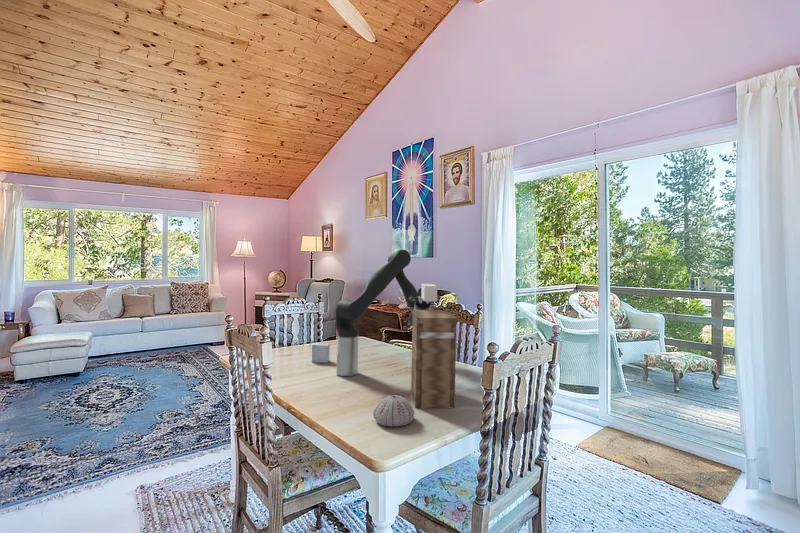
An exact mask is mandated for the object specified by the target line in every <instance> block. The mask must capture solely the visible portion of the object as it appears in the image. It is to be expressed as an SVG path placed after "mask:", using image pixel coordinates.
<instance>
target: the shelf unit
mask: <svg viewBox="0 0 800 533" xmlns="http://www.w3.org/2000/svg"><path fill="white" fill-rule="evenodd" d="M412 311H413V325H411V326H412V331H411V334H412V335H411V375H410V376H411V382H410V391H411V396H412V399H413V400H412V401H413V404H414V408H417V409H419V408H420V409H421V410H424V409H425V410H436V409H437V410H439V409H440V410H441V409H442V410H446V409H447V410H449V409H451V408H452V409H454V408H455V401H456V356H457V353H456V352H457V324H458V318H457V316H455V315H453V313H451V312H450V311H449V310H446V309H445V310H440V309H439V310H438V309H437V310H436V309H435V310H433V309H431V310H430V309H429V310H414V309H412Z"/></svg>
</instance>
